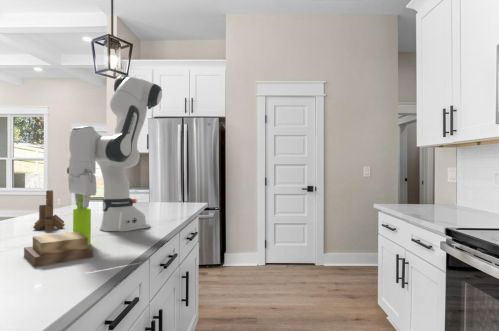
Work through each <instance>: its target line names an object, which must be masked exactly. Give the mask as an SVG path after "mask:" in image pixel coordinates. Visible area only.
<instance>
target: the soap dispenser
mask: <svg viewBox="0 0 499 331" xmlns="http://www.w3.org/2000/svg"><path fill="white" fill-rule="evenodd" d="M82 203H83V195H80V199H79V200H77V205H76V208H74V209H73V211H72V214H73V215H72V232H78V233H80V234H82V235H84V236H86V237H88V246H90V245H91V237H92V236H91V234H92V233H91V232H92V231H91V230H92V229H91V228H92V225H91V224H92V221H91V220H92V209H91V208H90V207H87V208H84V207H82Z"/></svg>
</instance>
